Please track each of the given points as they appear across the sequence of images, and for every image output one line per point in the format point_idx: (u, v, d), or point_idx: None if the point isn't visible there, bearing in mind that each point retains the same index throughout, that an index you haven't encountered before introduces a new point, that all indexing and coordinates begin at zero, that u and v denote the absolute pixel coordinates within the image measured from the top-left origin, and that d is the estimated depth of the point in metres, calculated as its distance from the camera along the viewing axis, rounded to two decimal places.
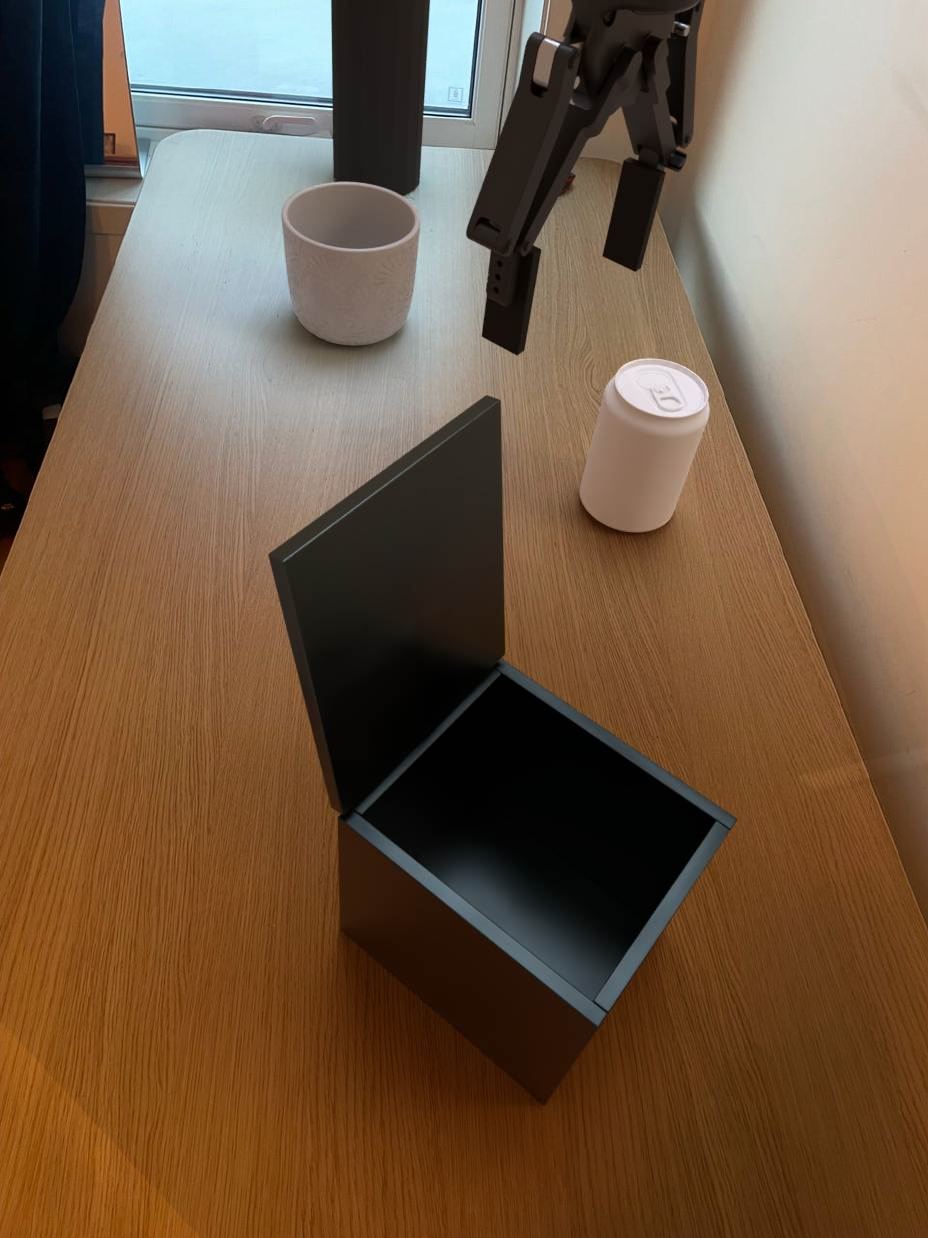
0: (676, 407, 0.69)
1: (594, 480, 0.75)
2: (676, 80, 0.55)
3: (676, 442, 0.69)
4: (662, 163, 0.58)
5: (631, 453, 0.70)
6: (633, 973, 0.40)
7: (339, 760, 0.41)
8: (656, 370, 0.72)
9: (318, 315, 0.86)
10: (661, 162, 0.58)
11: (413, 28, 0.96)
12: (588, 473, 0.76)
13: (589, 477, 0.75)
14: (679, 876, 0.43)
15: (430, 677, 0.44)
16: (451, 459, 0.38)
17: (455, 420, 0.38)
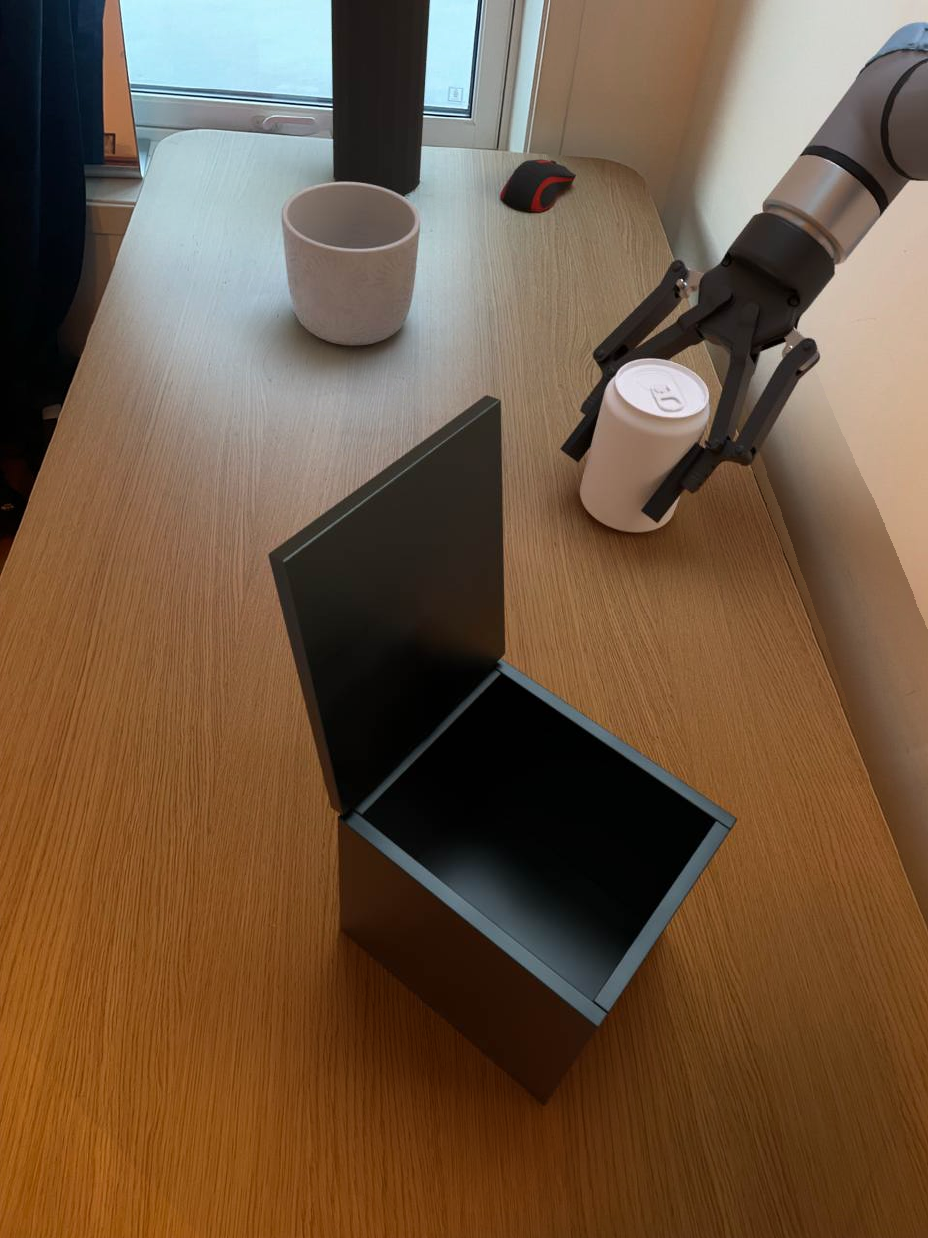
0: (676, 407, 0.69)
1: (594, 480, 0.75)
2: None
3: (676, 442, 0.69)
4: (708, 441, 0.70)
5: (631, 453, 0.70)
6: (633, 973, 0.40)
7: (339, 760, 0.41)
8: (656, 370, 0.72)
9: (318, 315, 0.86)
10: None
11: (413, 28, 0.96)
12: (588, 473, 0.76)
13: (590, 477, 0.75)
14: (679, 876, 0.43)
15: (430, 677, 0.44)
16: (451, 459, 0.38)
17: (455, 420, 0.38)
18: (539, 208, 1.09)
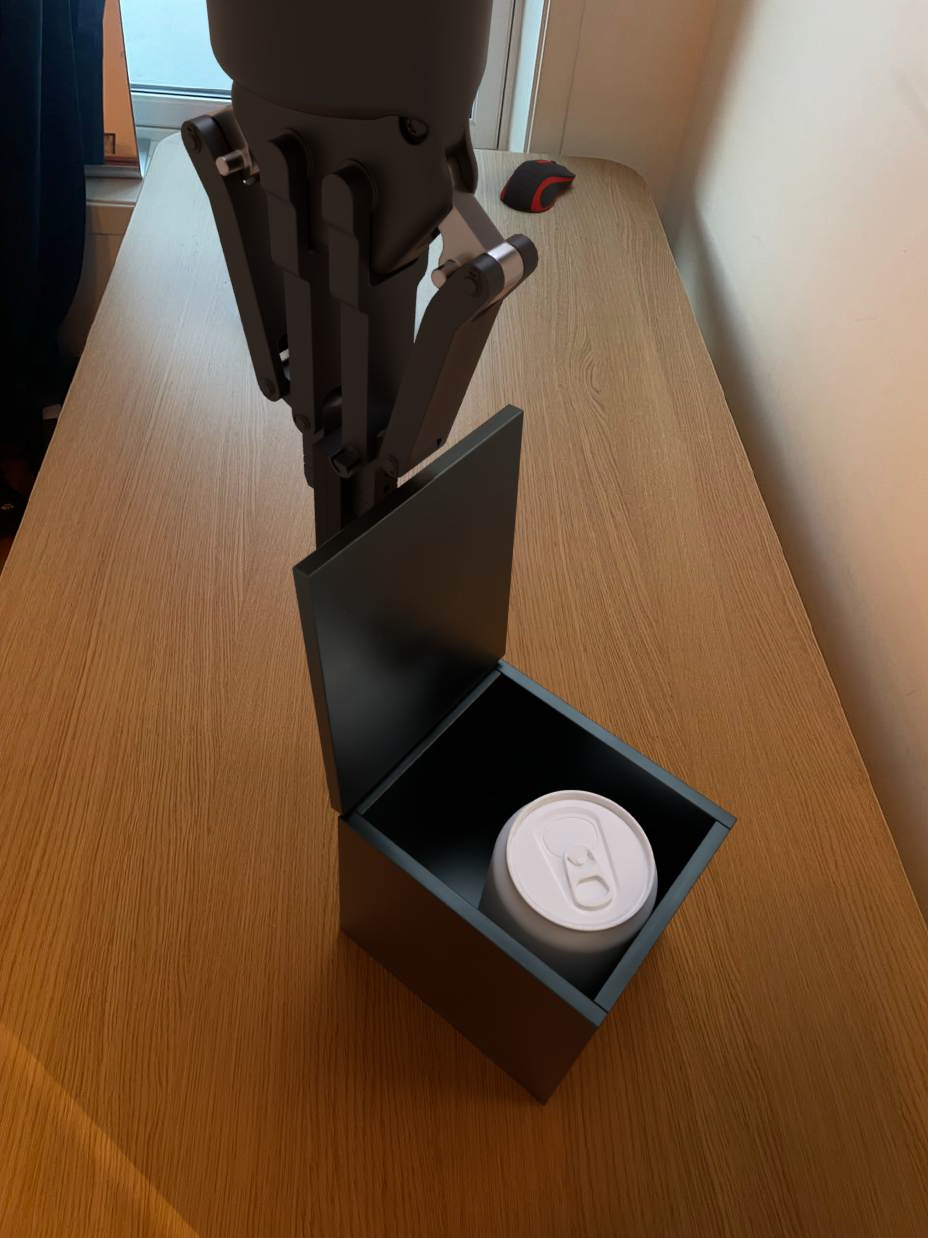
0: (601, 902, 0.43)
1: None
2: None
3: (601, 954, 0.43)
4: None
5: None
6: (633, 973, 0.40)
7: (344, 764, 0.40)
8: (576, 812, 0.46)
9: None
10: None
11: None
12: None
13: None
14: (679, 876, 0.43)
15: (434, 680, 0.44)
16: (473, 470, 0.37)
17: (478, 430, 0.37)
18: (539, 208, 1.09)
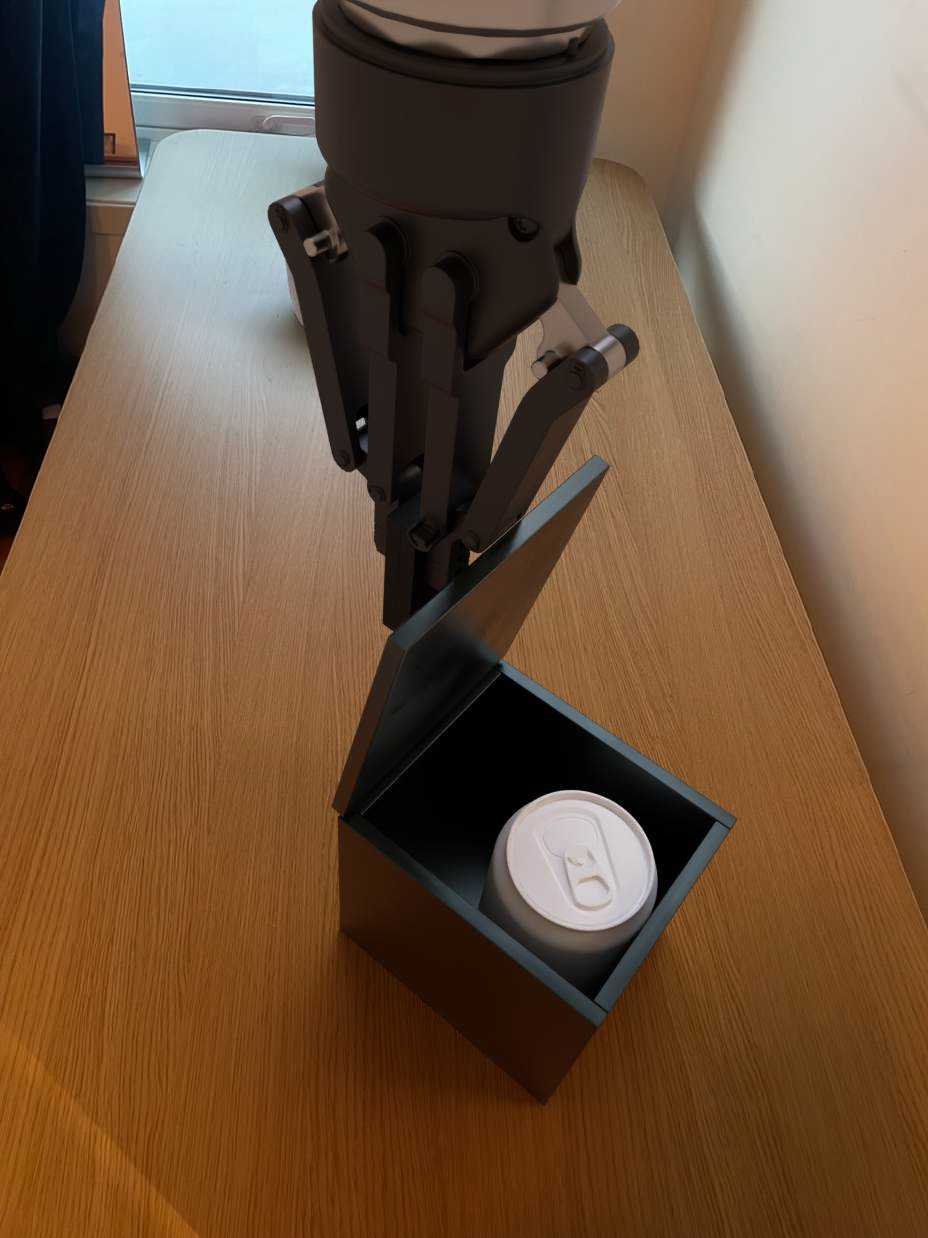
0: (601, 902, 0.43)
1: None
2: None
3: (601, 954, 0.43)
4: None
5: None
6: (633, 973, 0.40)
7: (362, 780, 0.40)
8: (576, 812, 0.46)
9: None
10: None
11: None
12: None
13: None
14: (679, 876, 0.43)
15: (450, 694, 0.44)
16: (554, 525, 0.36)
17: (567, 484, 0.36)
18: None
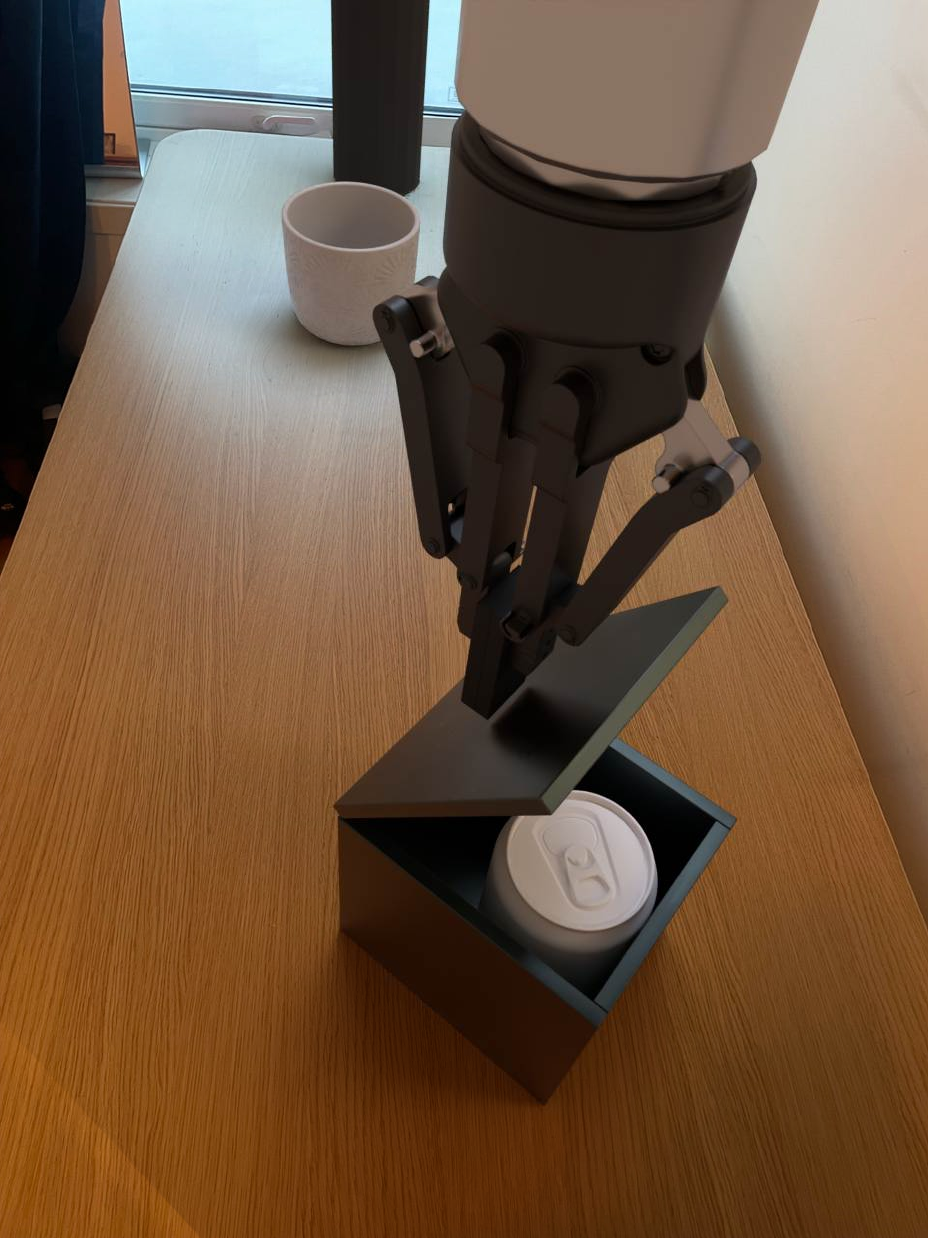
0: (601, 902, 0.43)
1: None
2: None
3: (601, 954, 0.43)
4: None
5: None
6: (633, 973, 0.40)
7: None
8: (576, 812, 0.46)
9: (318, 315, 0.86)
10: None
11: (413, 27, 0.96)
12: None
13: None
14: (679, 876, 0.43)
15: None
16: None
17: (694, 621, 0.36)
18: None
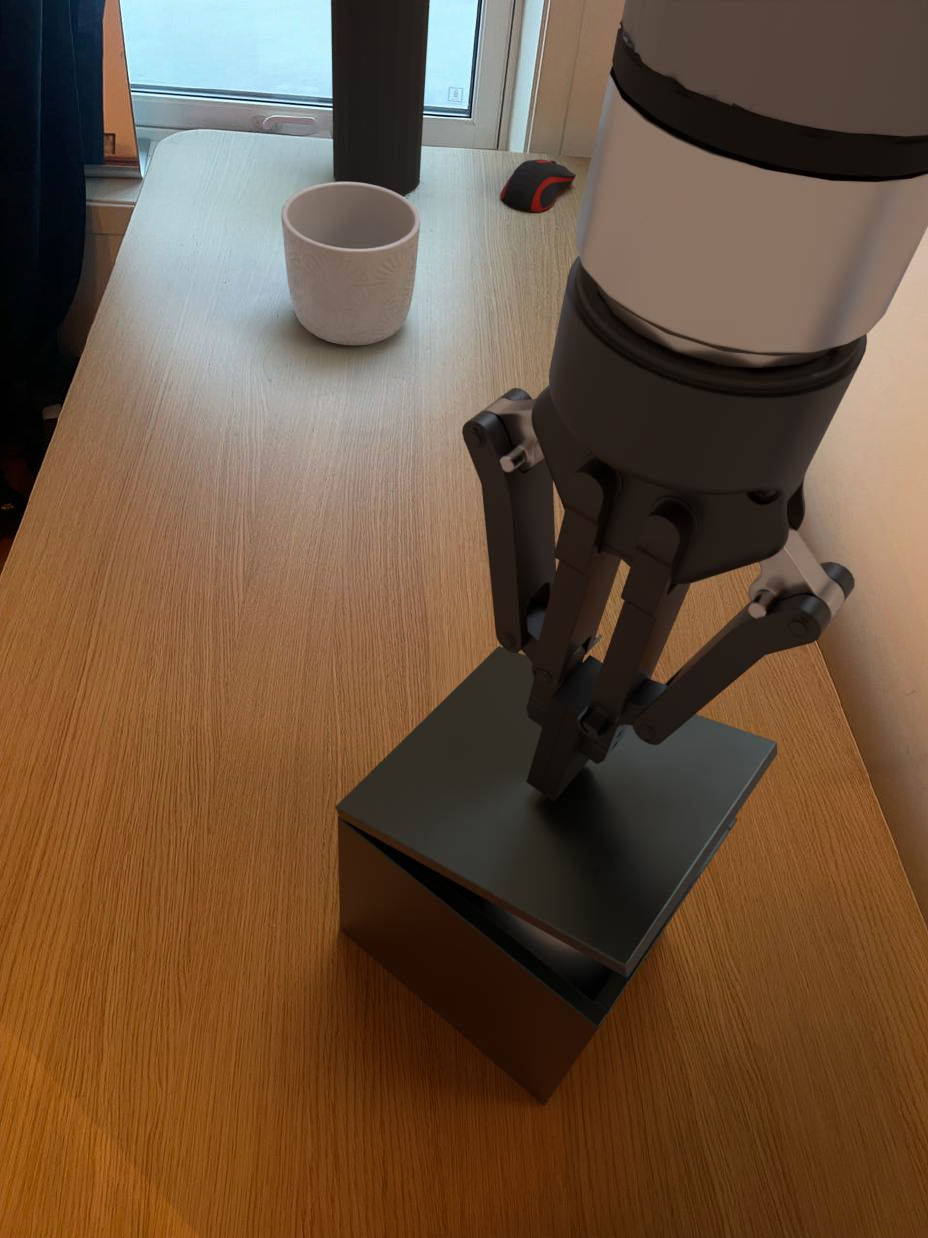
0: None
1: None
2: (704, 651, 0.30)
3: None
4: None
5: None
6: (633, 973, 0.40)
7: None
8: None
9: (318, 315, 0.86)
10: None
11: (413, 27, 0.96)
12: None
13: None
14: None
15: None
16: None
17: (753, 780, 0.39)
18: (539, 208, 1.09)
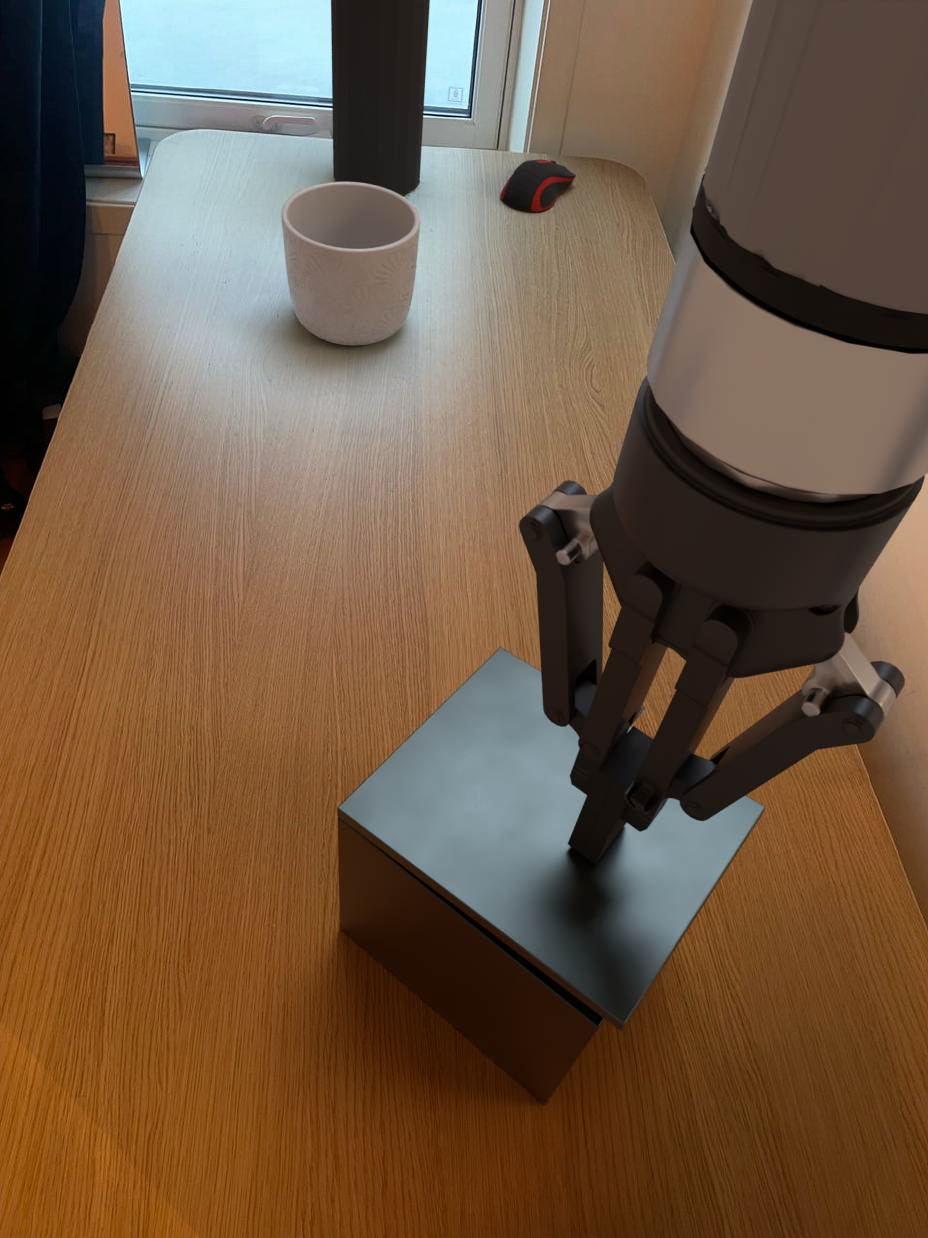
0: None
1: None
2: (754, 739, 0.31)
3: None
4: None
5: None
6: None
7: None
8: None
9: (318, 315, 0.86)
10: None
11: (413, 27, 0.96)
12: None
13: None
14: None
15: None
16: None
17: (742, 843, 0.42)
18: (539, 208, 1.09)
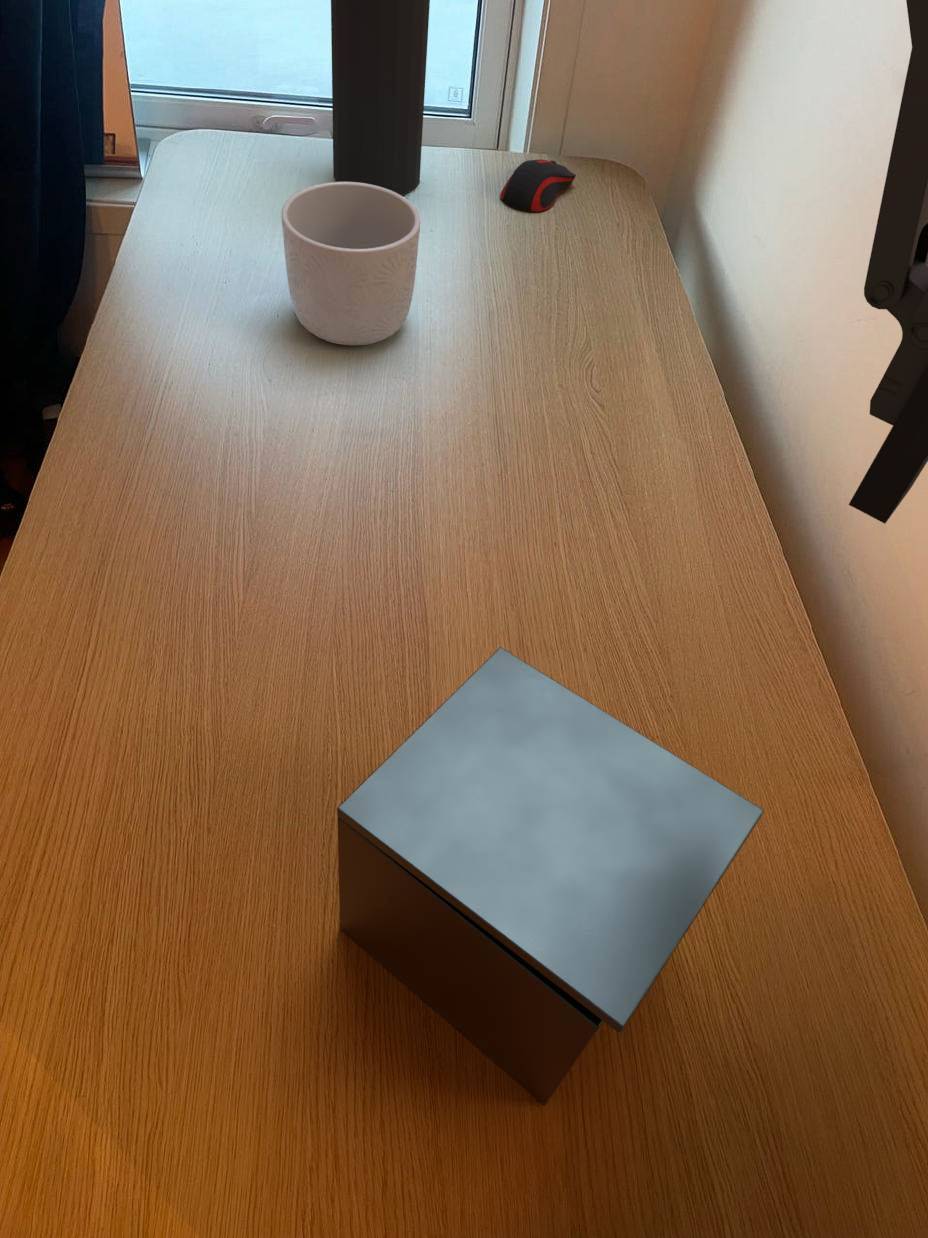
0: None
1: None
2: None
3: None
4: None
5: None
6: None
7: None
8: None
9: (318, 315, 0.86)
10: None
11: (413, 27, 0.96)
12: None
13: None
14: None
15: None
16: None
17: (741, 846, 0.43)
18: (539, 208, 1.09)
